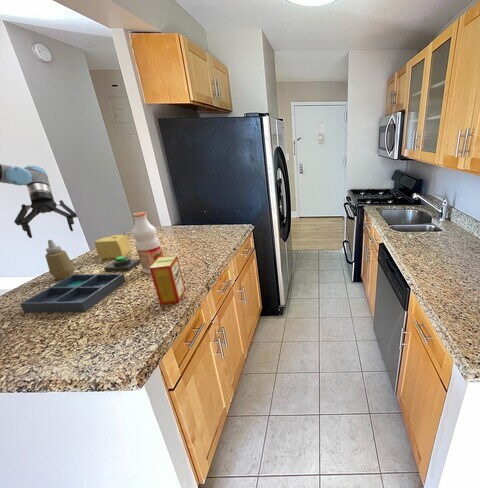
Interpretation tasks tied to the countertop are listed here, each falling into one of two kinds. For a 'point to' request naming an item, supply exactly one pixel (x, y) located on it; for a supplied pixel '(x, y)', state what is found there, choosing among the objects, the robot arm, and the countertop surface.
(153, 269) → the baking soda box
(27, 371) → the countertop surface
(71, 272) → the squeeze bottle
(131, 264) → the panel
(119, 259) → the button
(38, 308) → the compartment tray
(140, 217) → the fruit juice
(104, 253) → the cheese
